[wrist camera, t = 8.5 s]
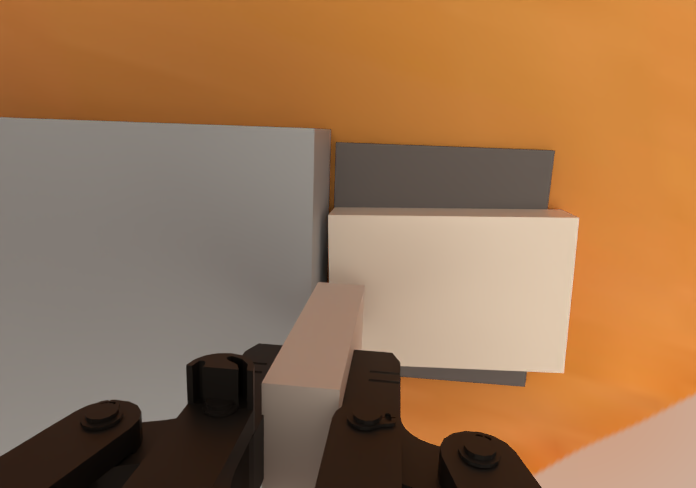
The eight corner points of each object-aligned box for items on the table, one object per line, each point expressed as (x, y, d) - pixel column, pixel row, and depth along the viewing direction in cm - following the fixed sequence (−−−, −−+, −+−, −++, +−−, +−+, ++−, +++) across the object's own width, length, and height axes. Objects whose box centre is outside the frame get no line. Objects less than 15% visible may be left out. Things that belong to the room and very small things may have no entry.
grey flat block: (-75, 115, 21) (-180, 110, 18) (331, 129, 20) (314, 128, 16) (-31, 402, 25) (-112, 452, 21) (323, 435, 23) (307, 497, 19)
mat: (336, 142, 20) (336, 142, 20) (552, 150, 19) (554, 150, 19) (330, 367, 22) (329, 370, 22) (523, 383, 21) (524, 386, 21)
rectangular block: (334, 207, 20) (328, 214, 18) (561, 209, 19) (579, 217, 17) (336, 342, 22) (330, 363, 20) (548, 350, 21) (563, 373, 19)
